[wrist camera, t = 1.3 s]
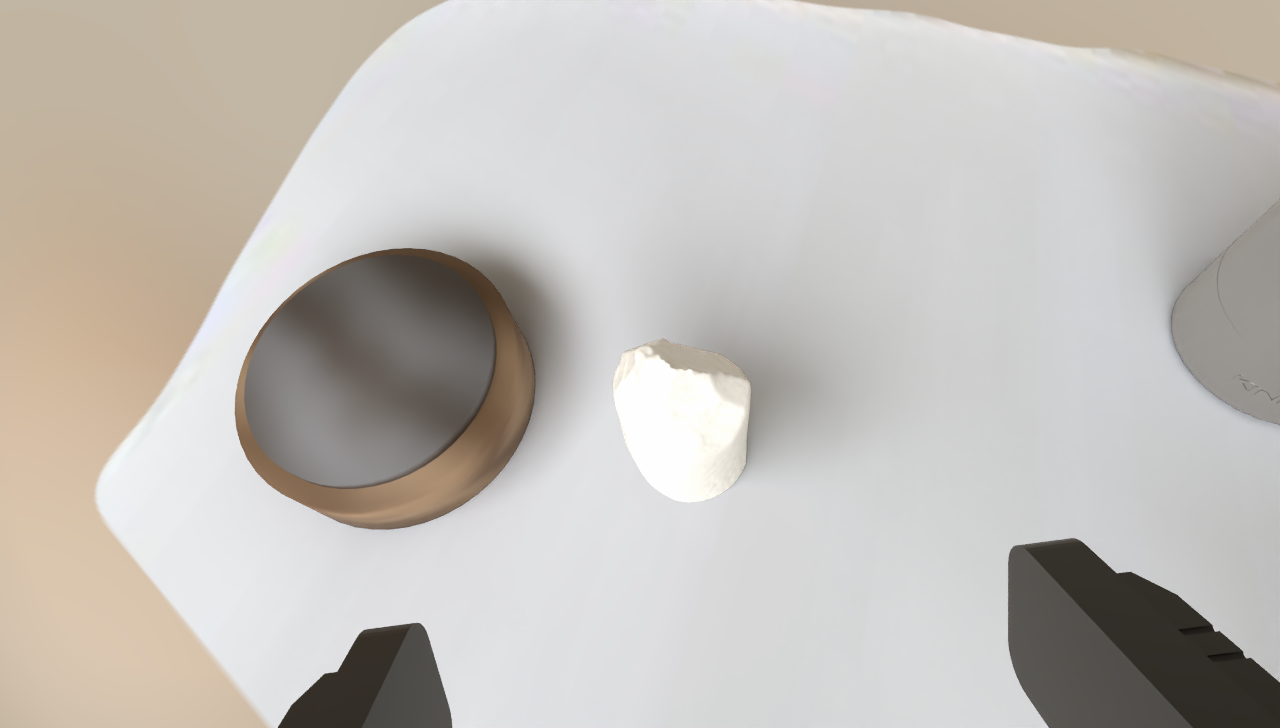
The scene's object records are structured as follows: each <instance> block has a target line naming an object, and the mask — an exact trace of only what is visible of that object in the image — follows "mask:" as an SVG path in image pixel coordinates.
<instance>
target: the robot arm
mask: <svg viewBox="0 0 1280 728" xmlns="http://www.w3.org/2000/svg"><path fill="white" fill-rule="evenodd" d="M1172 334H1173V338H1174V341H1175V345H1176V348H1177V351H1178V352H1179V354H1180V356H1181V358H1182V360H1183V362H1184V363H1185V365H1186V367H1187V368H1188V369H1189V370H1190V371H1191V373H1192V374H1193V375H1194V376H1195V377H1196V379H1197V380H1198V381H1199V382H1200V383H1201V384H1202V385H1203V386H1204V387H1206V388H1207V389H1208V390H1209V391H1210V392H1211V393H1213V394H1214V395H1215V396H1216V397H1218V398H1219V399H1221V400H1222V401H1224V402H1226V403H1227V404H1229V405H1230V406H1232V407H1234V408H1235V409H1237V410H1239V411H1242V412H1244V413H1246V414H1249V415H1251V416H1253V417H1256V418H1258V419H1261V420H1265V421H1269V422H1272V423H1276V424H1280V200H1279V201H1278V202H1276V203H1275V204H1274V205H1273V206H1272V207H1271V208H1270V209H1269V210H1268V211H1267V212H1266V213H1265V214H1264V215H1263V216H1262V217H1261V218H1260V219H1258V220H1257V221H1256V222H1255V223H1254V224H1253V225H1252V226H1251V227H1250V228H1249V229H1248V230H1247V231H1246V232H1245V233H1244V234H1243V235H1242V236H1240V237H1239V238H1238V239H1237V240H1236V241H1235V242H1234V243H1233V244H1232V245H1231V246H1229V247H1228V248H1227V249H1226V250H1225V251H1224V252H1223V253H1222V254H1221V255H1220V256H1219V257H1218V258H1217V259H1216V260H1215V261H1214V262H1213V263H1212V264H1211V265H1210V266H1209V267H1207V268H1206V269H1205V270H1204V271H1203V272H1202V273H1201V274H1200V275H1199V276H1198V277H1197V278H1196V279H1195V280H1194V281H1193V282H1192V283H1191V284H1189V285H1188V286H1187V287H1186V288H1185V289H1184V290H1183V292H1182V293H1181V295H1180V297H1179V298H1178V300H1177V301H1176V303H1175V307H1174V310H1173V314H1172ZM1008 642H1009V651H1010V656H1011V660H1012V664H1013V667H1014V670H1015V673H1016V675H1017V678H1018V680H1019V682H1020V684H1021V686H1022V688H1023V690H1024V692H1025V693H1026V695H1027V696H1028V698H1029V699H1030V701H1031V702H1032V704H1033V705H1034V707H1035V708H1036V709H1037V711H1038V712H1039V714H1040V715H1041V717H1042V718H1043V720H1044V721H1045V722H1046V724H1047V725H1048V727H1049V728H1280V682H1278V681H1277V680H1276V679H1275V678H1274V677H1273V676H1271V675H1270V674H1269V673H1268V672H1267V671H1266V670H1264V669H1263V668H1262V667H1261V666H1260V665H1259V664H1257V663H1256V662H1255V661H1254V660H1253V659H1252V658H1247V659H1246V658H1245V656H1244V654H1243V651H1242V650H1241V649H1240V648H1239V647H1237V646H1236V645H1235V644H1234V643H1233V642H1232V641H1230V640H1229V639H1228V638H1227V637H1226V636H1225V635H1223V634H1222V633H1221V632H1220V631H1218V632H1215V631H1214V629H1213V626H1212V624H1211V623H1209V622H1208V621H1207V620H1206V619H1205V618H1204V617H1202V616H1201V615H1200V614H1199V613H1198V612H1196V611H1195V610H1194V609H1193V608H1192V607H1191V606H1189V605H1188V604H1187V603H1186V602H1185V601H1184V600H1182V599H1181V598H1180V597H1179V596H1178V595H1176V594H1174V593H1172V592H1170V591H1168V590H1166V589H1164V588H1162V587H1160V586H1158V585H1156V584H1154V583H1152V582H1150V581H1148V580H1146V579H1144V578H1142V577H1140V576H1138V575H1136V574H1134V573H1132V572H1125V573H1118V574H1117V573H1116V572H1115V571H1114V570H1112V569H1111V568H1110V567H1109V566H1108V565H1107V564H1106V563H1105V562H1104V561H1103V560H1102V559H1100V558H1099V557H1098V556H1097V555H1096V554H1095V553H1094V552H1093V551H1092V550H1091V549H1090V548H1088V547H1087V546H1086V545H1085V544H1084V543H1083V542H1081V541H1080V540H1078V539H1074V538H1071V539H1063V540H1055V541H1048V542H1040V543H1032V544H1025V545H1017V546H1014V547H1013V548H1012V549H1011V551H1010V554H1009V562H1008ZM278 728H452V719H451V713H450V709H449V705H448V702H447V698H446V695H445V691H444V688H443V685H442V681H441V678H440V675H439V671H438V668H437V664H436V661H435V658H434V654H433V651H432V648H431V644H430V641H429V637H428V635H427V632H426V630H425V628H424V627H423V626H422V625H421V624H420V623H412V624H405V625H397V626H389V627H382V628H374V629H367V630H364V631H362V632H361V633H360V634H359V636H358V637H357V639H356V640H355V642H354V644H353V645H352V647H351V649H350V651H349V652H348V654H347V656H346V658H345V659H344V661H343V663H342V665H341V666H340V668H339V670H338V672H334V673H327V674H324V675H323V676H322V677H321V678H320V679H319V680H318V681H317V682H316V683H315V684H314V685H312V686H311V687H310V688H309V689H308V690H307V691H306V692H305V693H304V694H303V695H302V696H301V697H300V698H299V699H298V700H297V701H296V702H294V703H293V704H292V706H291V707H290V709H289V710H288V712H287V714H286V715H285V717H284V718H283V720H282V722H281V723H280V725H279V727H278Z"/></svg>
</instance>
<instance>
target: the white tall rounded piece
mask: <svg viewBox="0 0 1280 728" xmlns="http://www.w3.org/2000/svg"><path fill="white" fill-rule="evenodd" d="M613 393H614V400H615V405H616V409H617V413H618V415H619V418H620V422H621V427H622V431H623V434H624V438H625V442H626V445H627V447H628V449H629V451H630V453H631V454H632V456H633V458H634V460H635V462H636V463H637V465H638V467H639V470H640V471H641V473H642V475H643V476H644V477H645V478H646V479H647V481H648V482H649V483H650V484H651V485H652V486H653V487H654V488H655V489H657V490H658V491H660V492H661V493H663V494H664V495H666V496H668V497H670V498H672V499H674V500H676V501H682V502H697V501H703V500H707V499H710V498H713V497H715V496H718V495H719V494H721V493H723V492H724V491H725V490H726V489H728V488H730V487H731V486H732V485H733V484H734V483H735V482H736V480H737V478H738V477H739V476H740V475H741V473H742V471H743V468H744V466H745V463H746V453H747V443H746V439H747V431H748V422H749V413H750V400H751V385H750V382H749V380H748V379H747V378H746V376H745V375H744V373H743V372H742V370H741V369H740V368H739V367H738V366H737V365H735V363H733V362H732V361H730V360H728V359H727V358H725V357H724V356H722V355H720V354H717V353H712V352H708V351H705V350H699V349H696V348H691V347H687V346H683V345H679V344H674V343H671V342H669V341H667V340H665V339H660V340H656V341H653V342H651V343H647V344H644V345H642V346H640V347H637V348H633V349H630V350H628V351H626V352H624V353H623V354H622V357H621V361H620V363H619V365H618V367H617V369H616V372H615V375H614V379H613Z"/></svg>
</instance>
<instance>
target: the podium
mask: <svg viewBox="0 0 1280 728" xmlns="http://www.w3.org/2000/svg"><path fill="white" fill-rule="evenodd" d="M534 393H535V372H534V366H533V361H532V356H531V353H530V351H529V348H528V345H527V342H526V341H525V339H524V337H523V335H522V333H521V331H520V329H519V328H518V326H517V324H516V322H515V320H514V318H513V317H512V315H511V313H510V311H509V309H508V307H507V306H506V304H505V302H504V300H503V298H502V296H501V295H500V293H499V292H498V291H497V289H496V288H495V287H494V285H493V284H492V283H491V282H490V281H489V280H488V279H487V278H486V277H485V276H484V275H483V274H482V273H481V272H479V271H478V270H476V269H475V268H474V267H472V266H471V265H469V264H468V263H466V262H464V261H462V260H460V259H457V258H455V257H453V256H450V255H447V254H444V253H441V252H436V251H431V250H426V249H412V248H404V249H389V250H383V251H376V252H372V253H369V254H365V255H361V256H358V257H355V258H352V259H350V260H347V261H344V262H342V263H340V264H338V265H336V266H334V267H332V268H330V269H327V270H326V271H324V272H322V273H321V274H319V275H317V276H316V277H314V278H313V279H311V280H310V281H308V282H307V283H306V284H304V285H303V286H302V287H300V288H299V289H298V290H296V291H295V292H294V293H293V294H292V295H291V296H290V297H289V298H287V299H286V300H285V301H284V302H283V303H282V304H281V305H280V306H279V308H278V309H277V310H276V311H275V312H274V313H273V314H272V315H271V316H270V318H269V319H268V321H267V322H266V323H265V325H264V326H263V327H262V329H261V330H260V332H259V333H258V335H257V337H256V338H255V340H254V342H253V343H252V345H251V347H250V349H249V352H248V354H247V356H246V358H245V361H244V363H243V366H242V369H241V373H240V376H239V379H238V385H237V390H236V396H235V418H236V428H237V432H238V436H239V439H240V443H241V446H242V448H243V450H244V452H245V455H246V457H247V459H248V460H249V462H250V463H251V465H252V466H253V468H254V469H255V471H256V472H257V473H258V474H259V475H260V476H261V477H262V478H263V479H264V480H265V481H266V482H267V483H268V484H269V485H270V486H272V487H273V488H274V489H276V490H277V491H279V492H280V493H281V494H283V495H285V496H287V497H289V498H291V499H293V500H295V501H297V502H299V503H301V504H303V505H305V506H307V507H309V508H311V509H313V510H315V511H317V512H319V513H321V514H323V515H325V516H328V517H330V518H332V519H334V520H336V521H338V522H340V523H344V524H347V525H350V526H354V527H359V528H366V529H397V528H404V527H410V526H414V525H417V524H421V523H425V522H428V521H430V520H433V519H435V518H438V517H440V516H443V515H445V514H447V513H449V512H451V511H452V510H454V509H456V508H458V507H460V506H461V505H463V504H464V503H466V502H467V501H469V500H470V499H471V498H473V497H474V496H476V495H477V494H478V493H479V492H480V491H481V490H483V489H484V488H485V487H486V486H487V485H488V484H489V483H490V482H491V481H492V480H493V479H494V478H495V477H496V476H497V475H498V474H499V472H500V471H501V470H502V469H503V468H504V467H505V465H506V464H507V462H508V461H509V460H510V458H511V457H512V455H513V454H514V452H515V451H516V449H517V447H518V445H519V443H520V441H521V439H522V438H523V435H524V433H525V430H526V428H527V425H528V422H529V420H530V416H531V411H532V407H533V403H534Z"/></svg>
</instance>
